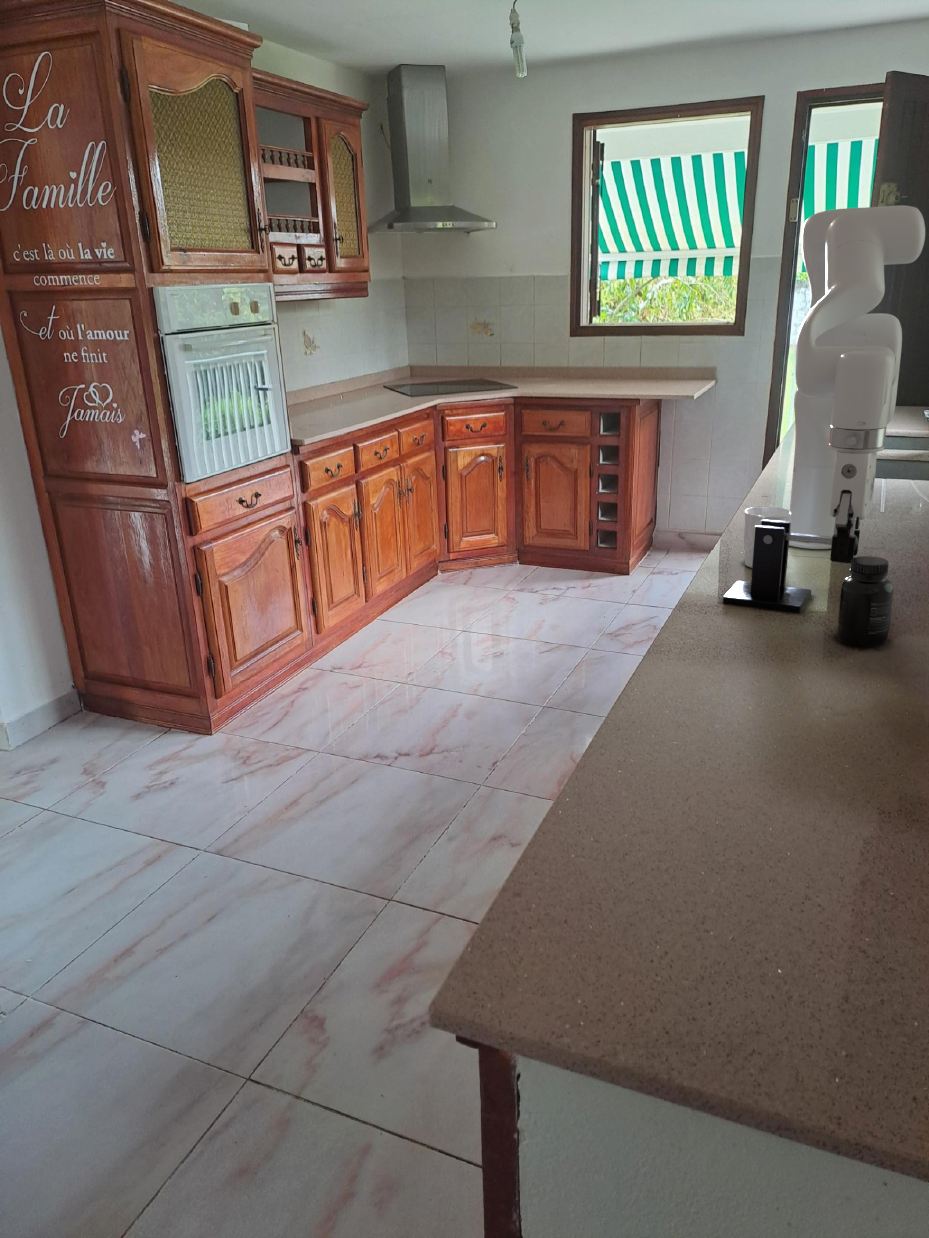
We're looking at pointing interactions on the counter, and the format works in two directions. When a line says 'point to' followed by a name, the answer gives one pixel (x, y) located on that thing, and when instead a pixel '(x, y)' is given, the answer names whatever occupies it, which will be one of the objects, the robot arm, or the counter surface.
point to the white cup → (754, 518)
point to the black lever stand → (769, 573)
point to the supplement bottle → (865, 603)
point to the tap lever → (811, 538)
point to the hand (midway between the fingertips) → (843, 557)
